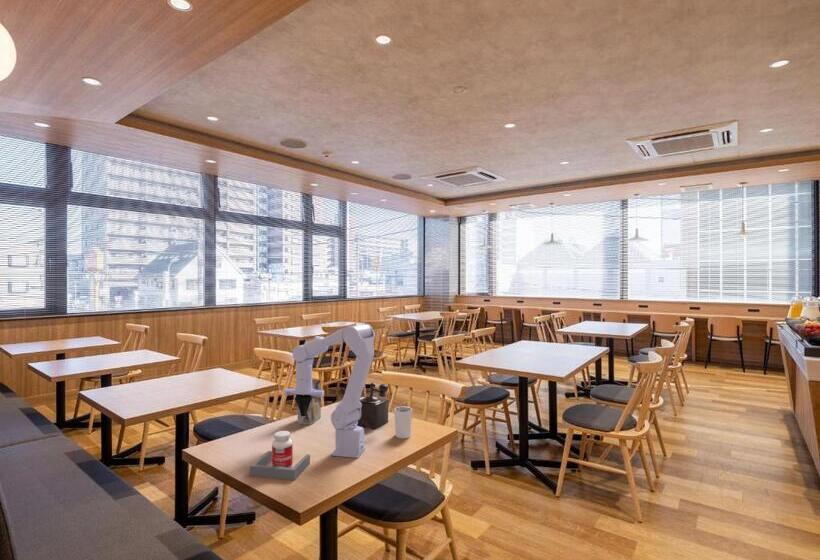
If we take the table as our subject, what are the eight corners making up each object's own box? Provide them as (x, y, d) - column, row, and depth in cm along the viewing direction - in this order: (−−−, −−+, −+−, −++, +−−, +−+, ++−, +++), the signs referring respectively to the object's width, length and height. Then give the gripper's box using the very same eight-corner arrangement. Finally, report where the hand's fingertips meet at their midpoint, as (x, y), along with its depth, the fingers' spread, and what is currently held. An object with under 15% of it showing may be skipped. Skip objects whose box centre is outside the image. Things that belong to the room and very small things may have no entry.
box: (309, 464, 140) (310, 454, 140) (294, 480, 129) (294, 470, 129) (268, 460, 142) (268, 450, 142) (249, 475, 131) (249, 465, 131)
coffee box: (306, 416, 185) (307, 378, 185) (321, 417, 184) (321, 379, 184) (297, 423, 176) (297, 384, 176) (311, 425, 175) (312, 385, 175)
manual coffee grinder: (352, 425, 175) (352, 380, 175) (368, 417, 185) (368, 375, 184) (384, 432, 167) (384, 386, 167) (399, 424, 177) (399, 380, 176)
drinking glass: (408, 440, 160) (408, 412, 160) (391, 437, 163) (391, 410, 163) (414, 433, 167) (414, 407, 166) (398, 431, 169) (398, 405, 169)
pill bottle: (273, 474, 132) (273, 438, 132) (270, 466, 138) (270, 431, 138) (294, 470, 135) (294, 435, 135) (290, 462, 140) (290, 428, 140)
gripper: (327, 376, 160) (327, 413, 161) (290, 374, 163) (290, 410, 163) (319, 381, 153) (319, 419, 154) (281, 378, 156) (281, 416, 156)
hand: (303, 415), depth 158 cm, fingers closed
